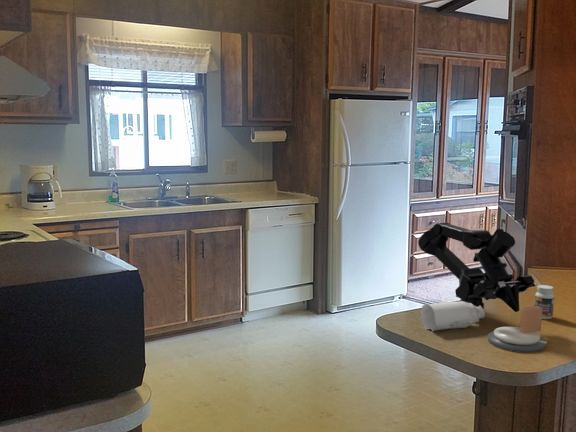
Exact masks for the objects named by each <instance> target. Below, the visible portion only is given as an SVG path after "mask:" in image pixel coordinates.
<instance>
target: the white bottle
mask: <svg viewBox="0 0 576 432" xmlns="http://www.w3.org/2000/svg"><path fill="white" fill-rule="evenodd" d="M485 317H486V312H485V308H484V309H483V308H482V307H481V306H479V307H477V306H474V305H473V304H472V303H467V302H465V301H452V302H449V301H448V302H440V303H430V304H427V303H425V304H423V305H422V306H421V312H420V320H421V323H422V326H423V327H424V329H425V330H426V329H430V328H431V330H432V329H434V330H432V331H431V332H435V331H441V330H451V329H461V328H462V329H465V328H468V327H469V326H472V325H475V324H476V323H478V322H480V320H481V319H480V318H483V319H484V318H485Z"/></svg>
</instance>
